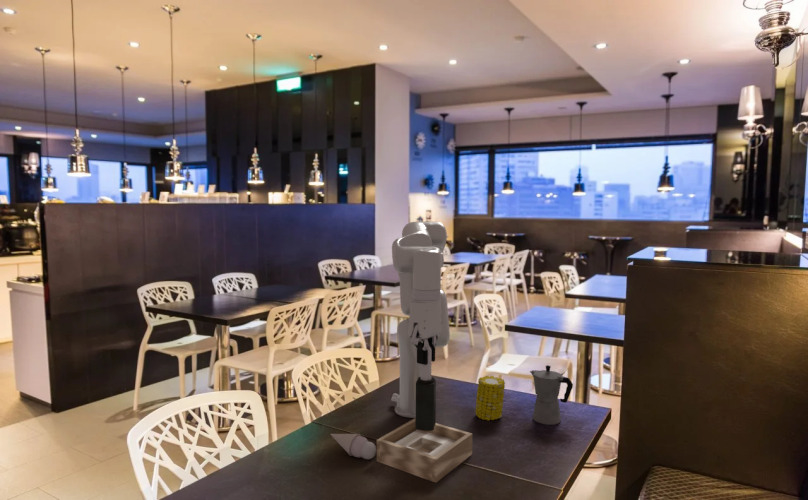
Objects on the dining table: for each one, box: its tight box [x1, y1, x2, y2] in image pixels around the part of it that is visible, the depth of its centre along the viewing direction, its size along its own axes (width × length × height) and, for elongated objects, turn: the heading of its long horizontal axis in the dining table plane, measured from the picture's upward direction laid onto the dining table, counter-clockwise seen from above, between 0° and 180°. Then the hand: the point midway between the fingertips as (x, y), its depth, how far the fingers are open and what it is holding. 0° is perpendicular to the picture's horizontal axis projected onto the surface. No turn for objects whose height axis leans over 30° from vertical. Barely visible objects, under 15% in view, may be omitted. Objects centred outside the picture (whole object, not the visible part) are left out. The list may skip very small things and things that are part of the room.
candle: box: [415, 338, 437, 431], centre depth 144 cm, size 5×5×25 cm
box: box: [376, 418, 473, 483], centre depth 145 cm, size 19×19×6 cm
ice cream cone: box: [330, 433, 377, 460], centre depth 147 cm, size 6×6×15 cm
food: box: [474, 375, 506, 422], centre depth 174 cm, size 14×11×9 cm
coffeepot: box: [529, 364, 574, 426], centre depth 171 cm, size 15×9×18 cm, turn 43°
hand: (426, 361), depth 143 cm, fingers closed on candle, 3 cm apart
